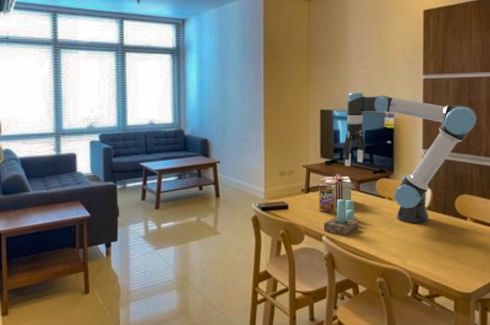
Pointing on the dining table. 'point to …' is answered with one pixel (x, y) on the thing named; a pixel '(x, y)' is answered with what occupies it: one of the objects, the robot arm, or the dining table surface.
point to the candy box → (327, 198)
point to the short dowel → (350, 214)
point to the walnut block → (341, 226)
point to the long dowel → (341, 211)
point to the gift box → (340, 186)
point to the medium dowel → (349, 204)
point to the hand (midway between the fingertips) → (354, 163)
